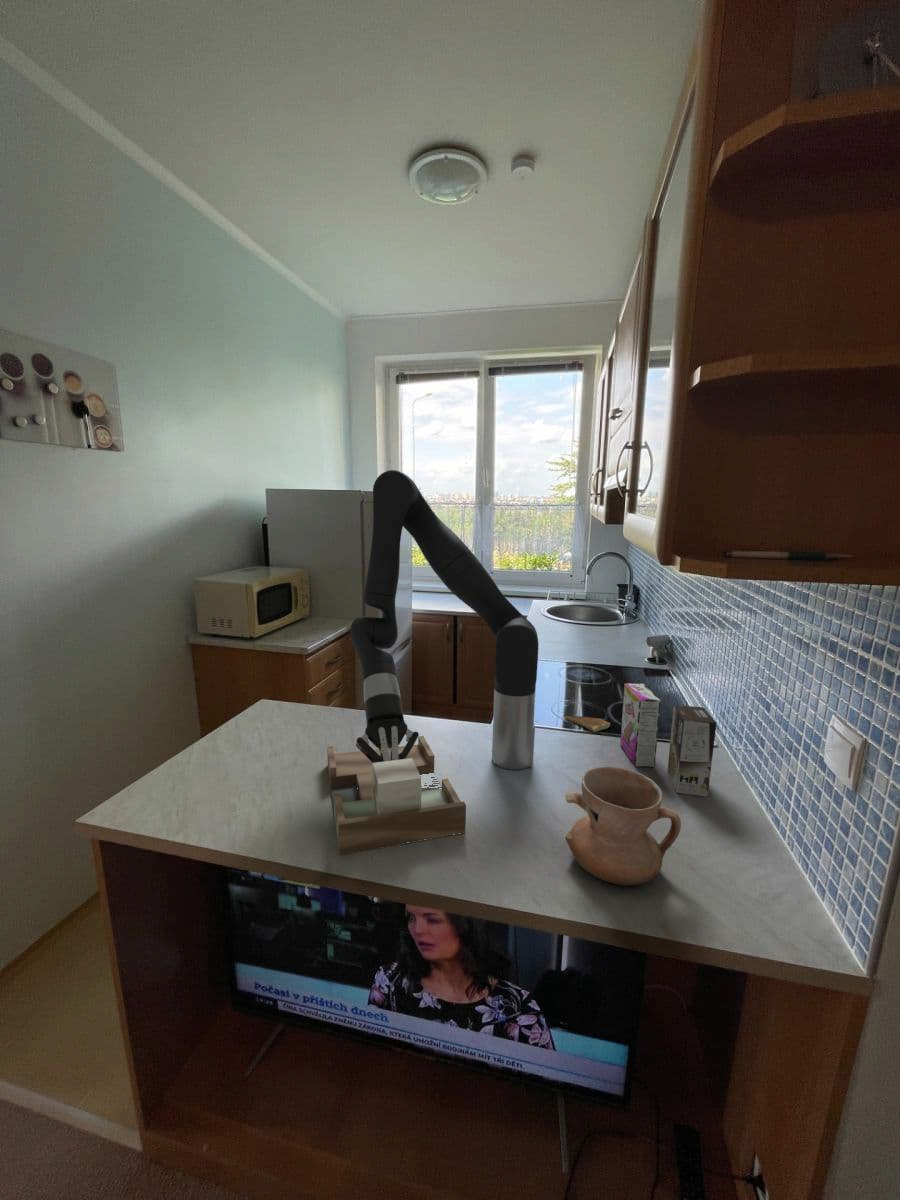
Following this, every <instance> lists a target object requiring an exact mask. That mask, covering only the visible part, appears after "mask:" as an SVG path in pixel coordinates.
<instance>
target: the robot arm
mask: <svg viewBox="0 0 900 1200" xmlns="http://www.w3.org/2000/svg"><path fill="white" fill-rule="evenodd" d="M372 504H373V505H372V510H373V512H372V513H373V515H372V516H373V517H372V519H373V520H372V535H371V536H372V539H371V545H370V554H369V560H368V561H369V562H368V568H367V573H366V574H367V575H366V580H365V587H364V592H363V593H364V594H363V602H364V604H365V605H367V606H369V607H371V608H375V609H378V610H380V612H381V617H374V616H358V617H356V618H354V620H353V621H352V623H351V625H350V628H349V629H350V630H349V634H350V635H349V636H350V640H351V642H352V645H353V648H354V650H355V652H356V655H357V657H358V660H359V662H360V665H361V669H362V670H361V671H362V678H363V703H364V710H365V720H366V728H365V732H364V734H363V735H362V736H360V737H357V739H356V743H355V746H356V748H357V749H358V750H359V751H361V752H362V753H363V754H364V755H365V756H366V757H367V758H368V759H369V760H370V761H371V762H372V763H376V762H385V761H390V758H391V761H393V760H401V759H406V757H407V756H408V754H409V752H410V750H411V749H412V747H413V745H415V743H416V742H417V741H418V737H419V736H420V735H419V732H418V731H412V730H410V729H409V728H408V724H407V723H406V721H405V719H404V712H403V706H402V705H403V704H402V699H401V692H400V687H399V683H398V679H397V671H396V666H395V660H394V657H393V655H392V654H391V653H390V652H387V651H385V650H388V649H391V648H392V647H394V645H395V644H396V643H397V641H398V634H399V632H398V622H397V615H396V598H397V597H396V596H397V592H398V591H397V590H398V584H399V577H400V564H401V561H400V560H401V559H400V557H401V556H400V555H401V552H400V551H401V539H402V532H403V529H405V530H406V531H407V533H409V535H411V536H412V538H413V540H414V542H415V543H416V544H417V547H418V548H419V550H420V551H421V554H422V555H423V557H424V558H425V560H426V561H427V563H428V565H429V566H430V567H431V569H432V570H433V572H434V573H435V574H436V575H437V577H438V578H439V579H440V581H441V582H442V583H443V584H444V585H445V586H446V588H447V589H448V590H449V591H450V592H451V593H452V594H453V595H454V596H455V597H456V598H457V599H459V600H460V601H462V603H464V604H465V605H466V606H468V608H471V610H472V611H474V612H475V613H476V614H477V616H479V617H480V618H481V619H482V620H483V622H484V624H485V625H486V626H487V628H488V629H489V630H490V632H491V634H492V635H493V636H494V638H495V650H494V677H493V679H494V688H493V689H494V690H493V718H492V720H493V721H492V743H491V744H492V745H491V761H492V760H493V761H492V762H493V764H494V765H496V764H497V765H498V766H497V765H496V766H497V767H499V766H501V767H500V768H502V767H503V768H502V769H505V768H506V769H505V770H510V771H511V770H512V771H513V770H515V771H516V770H524V769H526V768H527V769H528V768H533V767H534V757H535V756H534V754H535V733H536V732H535V731H536V727H535V723H534V721H535V708H536V707H535V703H536V689H537V687H536V685H537V677H538V663H539V636H538V632H537V629H536V627H535V626H534V624H533V623H531V622H530V620H529V619H528V618H526V617H525V615H523V614H522V613H521V611H519V610H518V609H517V608H516V607H515V606H514V605H513V604H512V603H511V602H510V601H509V600H508V598H507V597H505V595H504V594H503V592H501V590H500V588H499V587H498V585H497V584H496V582H495V581H494V579H493V578H492V577H491V576H490V575H491V574H489V573H488V571H487V570H486V568H485V567H484V566H483V564H482V563H481V562H480V560H479V559H478V558H477V556H476V555H475V554H474V553H473V552H472V550H471V549H470V548H469V546H467V545H466V544H465V543H464V541H463V540H462V539H461V538H459V536H458V535H457V533H455V532H454V531H452V529H451V528H449V526H448V525H446V524H445V523H444V522H443V521H442V520H441V519H440V518H439V516H437V514H436V513H435V512H434V510H433V509H432V507H431V506H430V505H429V504H428V502H427V500H426V499H425V497H424V496H423V495H422V493H421V492H420V489H419V488H418V486H417V484H416V482H415V481H414V480H413V479H412V478H410V476H408V474H406V473H404V472H403V471H401V470H397V469H389V470H386V471H384V472H382V473H381V474H379V475H378V477H377V478H376V479H375V481H374V484H373V486H372ZM380 649H381V650H380ZM404 737H406V738H405V741H406V744H405V745H404V746H405V748H404V749H403V751H402V753H400V754H398V747H399V746H400V744H401V742H402V741H403V739H404ZM370 742H371V743H372V744H373V745H374V746H375V748H377V749H379V752H380V756H379V755H378V754H377V753H376V752H375V751H374V750H375V749H373V747H372V746H370ZM388 748H390V757H389V752H388Z"/></svg>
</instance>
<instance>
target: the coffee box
mask: <svg viewBox="0 0 900 1200" xmlns="http://www.w3.org/2000/svg"><path fill="white" fill-rule="evenodd" d="M717 724H718V723H717V721H716V720H715V718H713V716H712V715H711V714H709V712H708V711H707V710H706V708H705V707H703V706H694V705H693V706H692V705H689V706H688V705H676V704H674V705H673V710H672V722H671V729H670V730H671V731H670V741H669V751H668V752H669V753H668V763H667V764H668V765H667V771H666V772H667V773H666V774H667V775H668V778H669V779H670V781H671V784H672V786H673V788H674V790H675V791H676V793H677V794H683V795H691V796H698V797H708V794H709V787H710V779H711V773H712V762H713V757H714V756H713V755H714V754H713V753H714V746H715V740H716V739H715V738H716V729H717Z"/></svg>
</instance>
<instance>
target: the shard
mask: <svg viewBox="0 0 900 1200" xmlns="http://www.w3.org/2000/svg"><path fill="white" fill-rule="evenodd" d="M563 716H564V717H565V720H567V721H569V722H570V723H574V724H575V725H579V726H581V727H582V728H585V729H587V730H589V731H591V732H593V733H596V732H599V731H602V730H606V729H608V728H609V727H610V726H611V722H608V721H606V720H604V719H602V718H599V717H592V716H591V717H590V716H581V715H579V716H578V715H566V714H565V715H563Z"/></svg>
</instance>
